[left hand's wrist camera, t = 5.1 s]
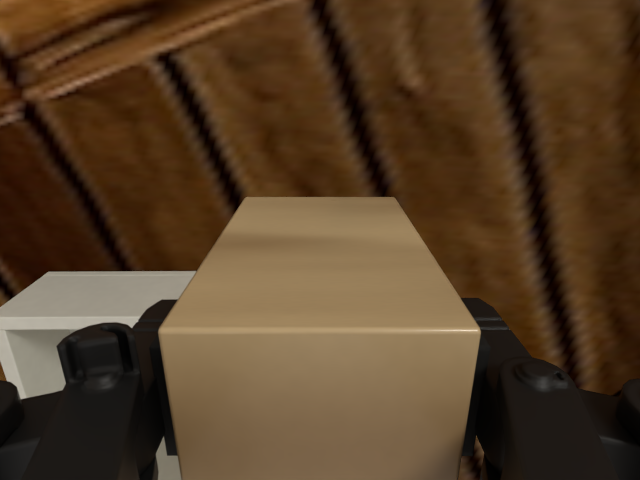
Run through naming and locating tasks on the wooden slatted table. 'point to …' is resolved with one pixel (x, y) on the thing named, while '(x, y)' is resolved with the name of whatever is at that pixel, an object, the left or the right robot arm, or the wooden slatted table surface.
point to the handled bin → (77, 325)
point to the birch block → (319, 349)
